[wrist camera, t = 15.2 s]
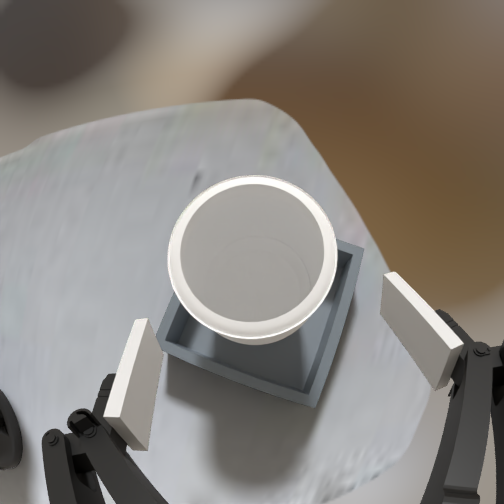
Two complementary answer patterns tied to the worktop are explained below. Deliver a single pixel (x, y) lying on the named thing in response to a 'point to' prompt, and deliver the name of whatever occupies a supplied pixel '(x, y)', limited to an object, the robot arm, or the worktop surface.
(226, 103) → the worktop surface
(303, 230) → the white tapered cylinder
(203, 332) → the bin
